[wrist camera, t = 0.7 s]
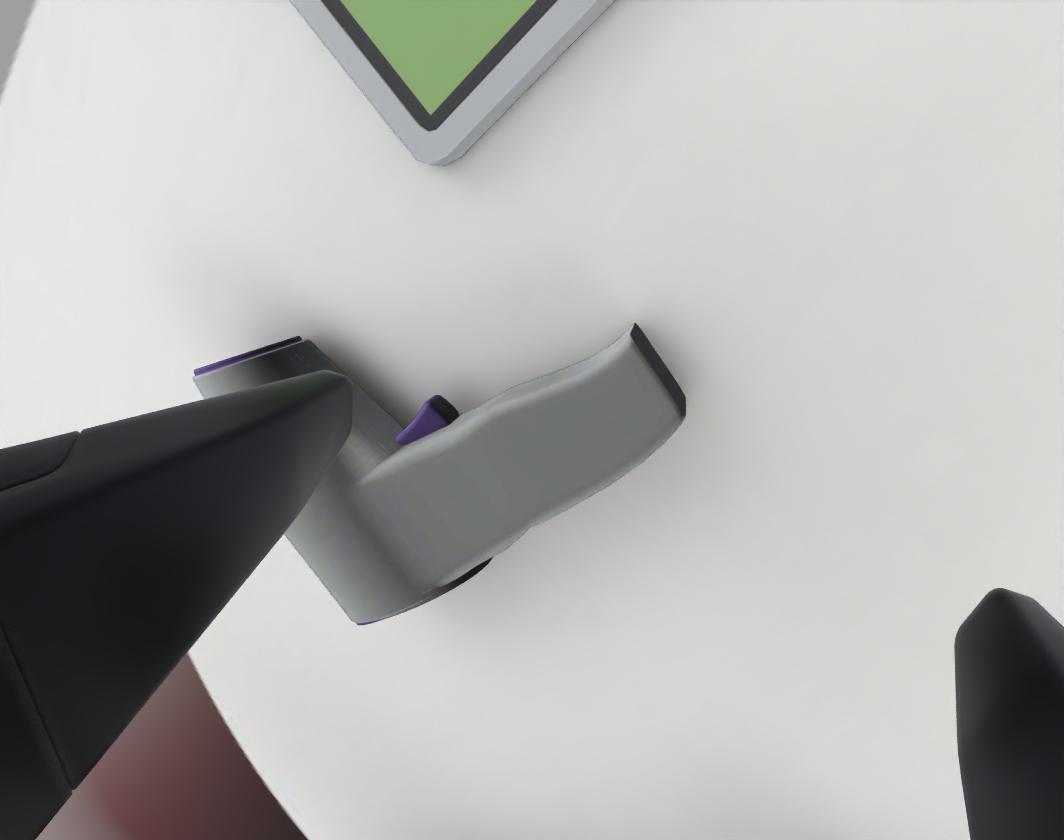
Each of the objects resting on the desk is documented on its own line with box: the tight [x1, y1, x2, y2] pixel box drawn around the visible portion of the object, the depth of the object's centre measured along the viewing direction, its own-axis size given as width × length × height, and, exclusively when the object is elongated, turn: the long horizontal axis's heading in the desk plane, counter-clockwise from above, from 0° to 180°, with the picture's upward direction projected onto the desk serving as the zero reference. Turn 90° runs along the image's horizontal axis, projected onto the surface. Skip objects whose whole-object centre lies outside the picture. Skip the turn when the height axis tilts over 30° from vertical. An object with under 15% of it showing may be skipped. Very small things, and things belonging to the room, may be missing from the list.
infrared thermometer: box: [193, 323, 686, 625], centre depth 24 cm, size 5×12×15 cm
